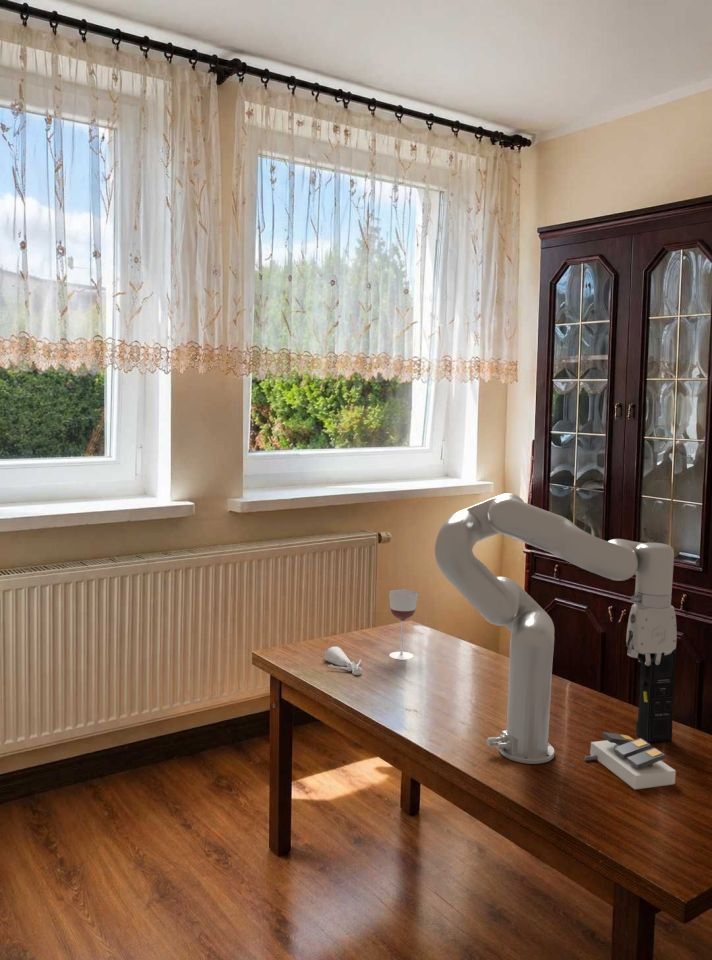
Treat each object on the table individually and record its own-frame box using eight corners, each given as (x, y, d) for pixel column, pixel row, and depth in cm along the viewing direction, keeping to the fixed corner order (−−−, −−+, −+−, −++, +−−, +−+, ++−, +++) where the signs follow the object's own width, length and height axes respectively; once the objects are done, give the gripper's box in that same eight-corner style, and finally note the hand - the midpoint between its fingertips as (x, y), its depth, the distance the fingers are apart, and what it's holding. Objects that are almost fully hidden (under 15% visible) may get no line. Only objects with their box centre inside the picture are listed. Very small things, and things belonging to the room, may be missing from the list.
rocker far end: (638, 772, 179) (637, 764, 178) (628, 764, 182) (627, 756, 182) (666, 762, 180) (664, 753, 180) (655, 754, 184) (654, 746, 183)
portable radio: (645, 744, 199) (652, 643, 196) (630, 734, 205) (637, 635, 202) (673, 741, 201) (681, 641, 198) (658, 731, 207) (665, 633, 204)
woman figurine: (345, 641, 258) (377, 662, 243) (344, 654, 259) (376, 676, 244) (312, 646, 252) (343, 668, 237) (311, 660, 253) (342, 683, 238)
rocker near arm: (609, 745, 188) (611, 737, 188) (600, 739, 191) (602, 731, 191) (635, 749, 190) (637, 741, 190) (625, 742, 193) (627, 734, 193)
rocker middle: (624, 762, 183) (623, 754, 183) (614, 755, 187) (613, 747, 186) (651, 752, 185) (650, 744, 185) (641, 745, 188) (640, 737, 188)
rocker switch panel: (622, 791, 176) (623, 777, 175) (578, 755, 192) (579, 743, 192) (674, 784, 180) (675, 770, 179) (627, 750, 196) (628, 737, 195)
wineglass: (385, 651, 262) (386, 589, 260) (411, 650, 264) (414, 589, 261) (390, 660, 254) (392, 596, 252) (418, 659, 256) (420, 595, 254)
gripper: (633, 606, 177) (628, 690, 179) (693, 602, 181) (687, 683, 183) (613, 597, 184) (608, 678, 186) (670, 593, 188) (665, 672, 190)
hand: (647, 680), depth 184 cm, fingers closed
